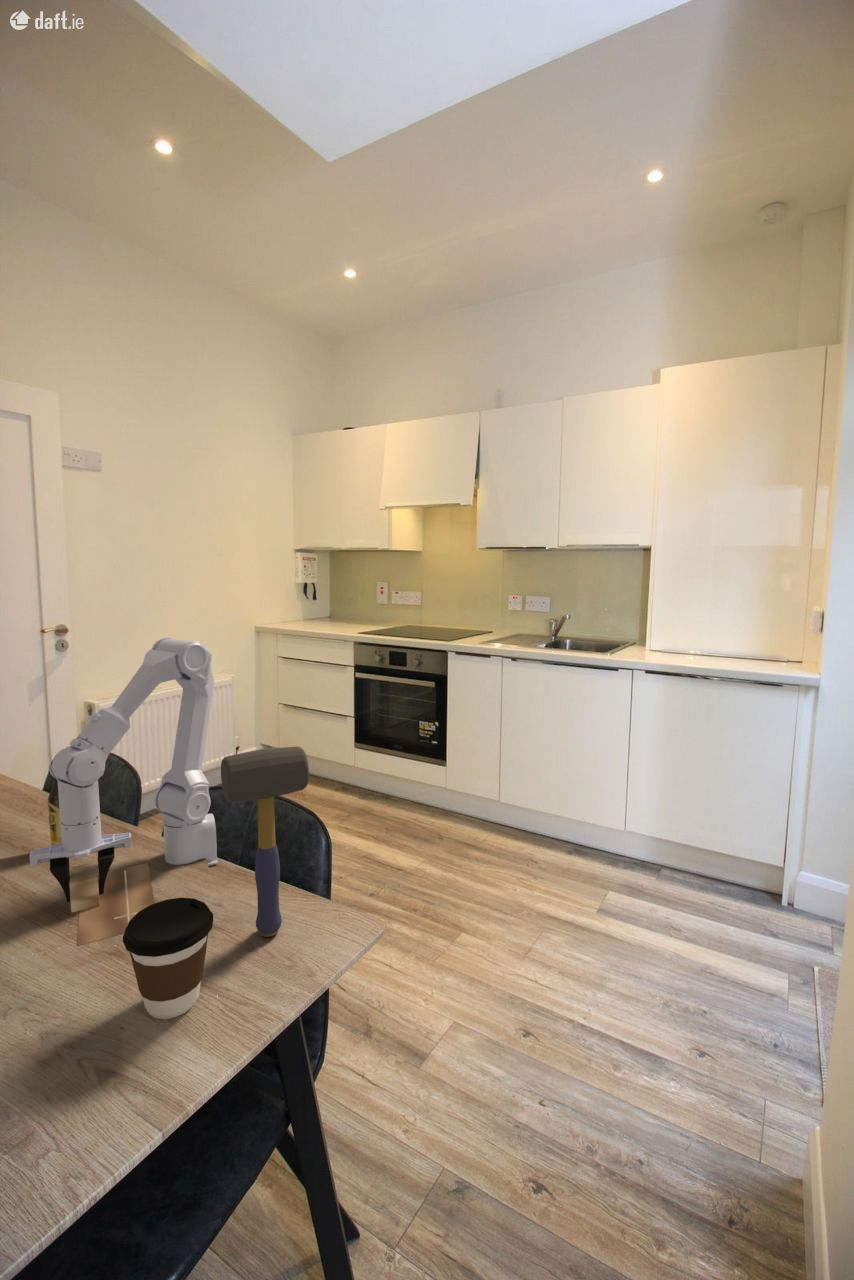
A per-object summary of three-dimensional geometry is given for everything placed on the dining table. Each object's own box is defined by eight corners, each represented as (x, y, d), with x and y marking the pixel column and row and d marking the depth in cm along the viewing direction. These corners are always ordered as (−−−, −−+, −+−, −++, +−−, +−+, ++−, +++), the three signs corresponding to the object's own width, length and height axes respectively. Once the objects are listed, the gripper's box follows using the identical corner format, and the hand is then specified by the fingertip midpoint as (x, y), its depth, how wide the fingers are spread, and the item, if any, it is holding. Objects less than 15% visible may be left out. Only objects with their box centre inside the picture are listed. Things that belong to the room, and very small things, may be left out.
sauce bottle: (54, 848, 120) (47, 755, 117) (89, 843, 122) (83, 751, 120) (49, 863, 114) (42, 765, 111) (86, 857, 116) (79, 760, 114)
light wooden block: (100, 895, 102) (98, 861, 102) (99, 912, 97) (97, 877, 96) (73, 901, 101) (71, 867, 100) (71, 919, 95) (69, 883, 95)
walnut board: (148, 870, 111) (148, 862, 111) (158, 933, 92) (157, 924, 92) (82, 884, 106) (81, 877, 106) (77, 955, 87) (77, 945, 87)
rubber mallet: (233, 958, 87) (226, 763, 83) (224, 930, 93) (217, 749, 90) (314, 933, 93) (311, 751, 89) (300, 909, 99) (297, 738, 95)
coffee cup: (190, 963, 85) (187, 886, 84) (232, 998, 79) (229, 915, 77) (112, 1005, 77) (107, 921, 76) (151, 1049, 70) (146, 957, 69)
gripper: (25, 837, 90) (31, 919, 92) (130, 818, 97) (134, 895, 99) (30, 820, 96) (36, 897, 98) (128, 803, 103) (132, 876, 105)
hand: (85, 895), depth 99 cm, fingers closed on light wooden block, 4 cm apart
